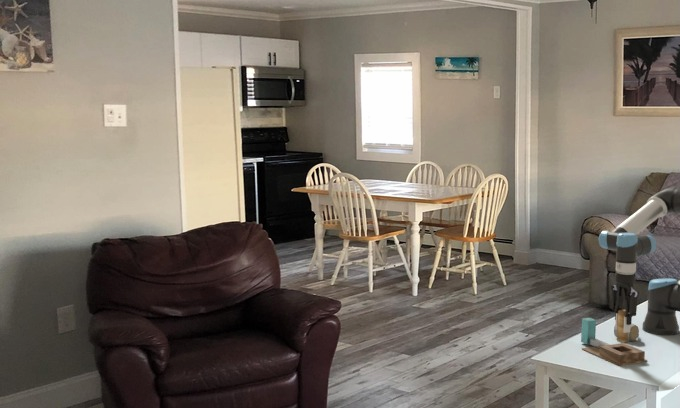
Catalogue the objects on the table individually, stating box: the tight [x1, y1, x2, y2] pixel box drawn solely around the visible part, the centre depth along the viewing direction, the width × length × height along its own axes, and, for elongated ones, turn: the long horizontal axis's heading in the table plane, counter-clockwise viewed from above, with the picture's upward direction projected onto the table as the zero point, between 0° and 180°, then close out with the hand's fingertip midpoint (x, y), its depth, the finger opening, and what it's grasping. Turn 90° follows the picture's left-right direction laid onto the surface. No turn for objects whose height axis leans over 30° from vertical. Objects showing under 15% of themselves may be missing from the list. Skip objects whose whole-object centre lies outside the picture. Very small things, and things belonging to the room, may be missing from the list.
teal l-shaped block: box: [580, 317, 616, 350], centre depth 333 cm, size 4×18×10 cm, turn 22°
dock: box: [581, 342, 648, 367], centre depth 325 cm, size 14×22×4 cm, turn 22°
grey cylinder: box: [613, 322, 640, 342], centre depth 347 cm, size 11×8×8 cm
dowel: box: [616, 309, 629, 343], centre depth 319 cm, size 4×4×12 cm
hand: (622, 330), depth 319 cm, fingers closed on dowel, 4 cm apart
